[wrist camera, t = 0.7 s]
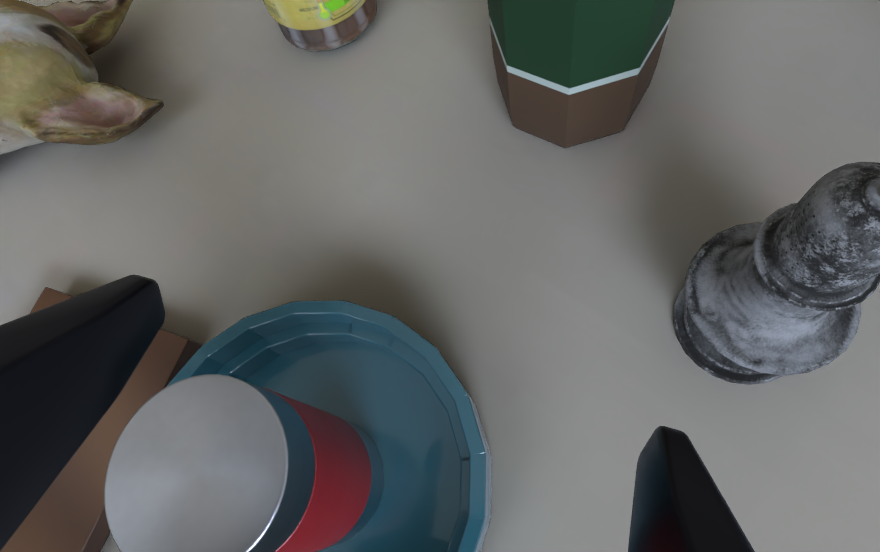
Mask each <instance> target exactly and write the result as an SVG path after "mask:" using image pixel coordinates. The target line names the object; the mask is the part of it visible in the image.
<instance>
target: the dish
mask: <svg viewBox="0 0 880 552" xmlns="http://www.w3.org/2000/svg"><path fill="white" fill-rule="evenodd" d="M205 374H219V375H226V376H231V377H234V378H237V379H240V380H243V381H245V382H248V383H251V384H253V385H256V386H258V387H262V388H265V389H269V390H272V391H274V392H277V393H279V394H282V395H284V396H287V397H290V398H292V399H295V400H297V401H300V402H302V403H305V404H308V405H310V406H313V407H315V408H318V409H320V410H323V411H326V412H328V413H331V414H333V415H335V416H338V417H340V418H342V419H344V420H347V421H349V422H351V423H353V424H355V425H357V426H358V427H360V428H361V429H362V430H363V431H365V432H366V433H367V434H368V436H369V437H370V438H371V439H372V441H373V442H374V444H375V445H376V448H377V450H378V452H379V454H380V457H381V461H382V466H383V476H384V479H383V489H382V495H381V498H380V501H379V504H378V507H377V509H376V511H375V513H374V515H373V516H372V518H371V519H370V521H369V522H368V523H367V525H366V526H365V527H364V528H363V529H362V530H361V531H360V532H359V533H358V534H356V535H355V536H354V537H353V538H351V539H349V540H347V541H346V542H344V543H341V544H339V545H335V546H332V547H328V548H325V549H322V550H319V551H315V552H481V548H482V545H483V542H484V539H485V536H486V532H487V529H488V526H489V523H490V516H491V487H492V459H491V454H490V450H489V447H488V444H487V440H486V437H485V434H484V430H483V427H482V424H481V420H480V417H479V414H478V411H477V407H476V405H475V403H474V401H473V400H472V398H471V397H470V396H469V394H468V393H467V391H466V390H465V388H464V387H463V385H462V384H461V383H460V381H459V380H458V378H457V377H456V375H455V374H454V372H453V371H452V370H451V368H450V367H449V365H448V364H447V362H446V361H445V359H444V358H443V357H442V355H441V354H440V352H439V351H438V349H437V348H436V347H435V346H434V345H432V344H431V343H430V342H428V341H427V340H426V339H424V338H423V337H422V336H420V335H419V334H418V333H416V332H415V331H414V330H412V329H411V328H410V327H408V326H407V325H405V324H404V323H403V322H401V321H400V320H399V319H397V318H396V317H395V316H392V315H390V314H386V313H383V312H380V311H377V310H374V309H371V308H368V307H364V306H361V305H358V304H355V303H352V302H349V301H344V300H339V301H295V302H290V303H287V304H284V305H281V306H278V307H275V308H272V309H269V310H266V311H263V312H260V313H257V314H254V315H251V316H247V317H246V318H243V319H241V320H240V321H238V322H237V323H235V324H234V325H233V326H231V327H230V328H228V329H227V330H225V331H224V332H222V333H221V334H219V335H218V336H216V337H215V338H213V339H212V340H210V341H209V342H207V343H206V344H204V345H203V346H201V348H199V349H198V351H197V352H196V353H195V354H194V355H193V356H192V357H191V359H190V360H189V361H188V362H187V363H186V364H185V365H184V367H183V368H182V369H181V370H180V371H179V372H178V373H177V375H176V376H175V377H174V378H173V379H172V380H171V382H170V383H169V384H168V385H167V386H169V385H171V384H173V383H176V382H178V381H180V380H183V379H186V378H189V377H193V376H198V375H205ZM167 386H166V387H167ZM166 387H165V388H166Z"/></svg>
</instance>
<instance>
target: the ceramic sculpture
mask: <svg viewBox="0 0 880 552" xmlns="http://www.w3.org/2000/svg"><path fill="white" fill-rule="evenodd" d="M132 1H133V0H107V1H104V2H99V1H86V2H81V3H79V4H77V3H74V2H72V1H68V2H56V3H53V4H51V5H49V6H34V5H32V4H29V3H26V2H23V1H18V0H0V154H3V153H7V152H12V151H15V150H18V149H21V148H23V147H26V146H31V145H36V144H41V143H44V142H54V143H69V144H82V145H97V144H106V143H110V142H114V141H116V140H118V139H120V138H122V137H123V136H125V135H127V134H129V133H131V132H132V131H134V130H135V129H137V128H138V127H140V126H141V125H142V124H144V123H145V122H146V121H147V120H148V119H149V118H151V117H152V116H153V115H154V114H155V113H157V112H158V111H159V110H160V109H161V108H162V107H163V105H164V103H163V101H161V100H156V99H148V98H144V97H142V96H140V95H137V94H135V93H132V92H129V91H127V90H125V89H124V88H122V87H119V86H116V85H113V84H110V83H101V82H98V73H97V71H96V68H95V66H94V63H93V61H92V59H91V58H90V56H89V55H90V54H92V53H94V52H96V51H97V50H99V49H101V48H103V47H105V46H106V45H107V44H109V43H110V41H111V40H112V39H113V37H114V36H115V34H116V32H117V31H118V29H119V27H120V26H121V24H122V22H123V20H124V18H125V15H126V13H127V11H128V9H129V7H130V5H131V3H132Z"/></svg>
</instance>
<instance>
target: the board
mask: <svg viewBox="0 0 880 552" xmlns="http://www.w3.org/2000/svg"><path fill="white" fill-rule="evenodd" d="M72 297H73V296H70V295H68V294H65V293H62V292H59V291H57V290H54V289H51V288H49V287H45V289H44V290H43V292H42V294H41V295H40V297H39V299H38V300H37V302H36V304H35V306H34V307H33V309H32V311H31V312H30V314H31V313H34V312H36V311H39V310H41V309H44V308H47V307H49V306H52V305H54V304H57V303H60V302H62V301H65V300H67V299H70V298H72ZM199 348H201V344H199V343H196V342H194V341H192V340H190V339H187V338H185V337H182V336H179V335H176V334H174V333H171V332H168V331H165V330H163V329H160V330H159V331H158V333H157V335H156V336H155V338H154V339H153V341H152V343H151V344H150V346H149V348H148V349H147V351H146V353H145V354H144V356H143V358H142V359H141V361H140V363H139V364H138V366H137V367H136V369H135V371H134V372H133V374H132V376H131V377H130V379H129V381H128V382H127V384H126V385H125V387H124V388H123V390H122V392H121V393H120V395H119V396H118V397H117V399H116V400H115V401H114V403H113V404H112V406H111V407H110V408H109V410H108V411H107V412H106V413H105V415H104V416H103V417H102V419H101V420H100V421H99V423H98V424H97V425H96V427H95V428H94V429H93V431H92V432H91V433H90V434H89V436H88V437H87V438H86V440H85V441H84V442H83V444H82V445H81V446H80V448H79V449H78V450H77V452H76V453H75V454H74V455H73V457H72V458H71V459H70V461H69V462H68V463H67V465H66V466H65V467H64V469H63V470H62V471H61V473H60V474H59V475H58V476H57V478H56V479H55V480H54V482H53V483H52V484H51V486H50V487H49V488H48V490H47V491H46V492H45V494H44V495H43V496H42V497H41V499H40V500H39V501H38V503H37V504H36V505H35V507H34V508H33V509H32V511H31V512H30V513H29V515H28V516H27V517H26V518H25V520H24V521H23V522H22V524H21V525H20V526H19V528H18V529H17V530H16V532H15V533H14V534H13V536H12V537H11V538H10V539H9V541H8V542H7V543H6V545H5V546H4V547H3V549H2V550H1V551H0V552H100V551H101V549H102V547H103V545H104V543H105V541H106V539H107V537H108V534H109V532H110V529H109V526H108V522H107V518H106V513H105V505H104V487H105V477H106V472H107V468H108V463H109V460H110V457H111V454H112V451H113V449H114V446H115V444H116V442H117V440H118V438H119V436H120V434H121V433H122V431H123V429H124V427H125V426H126V424H127V423H128V422H129V420H130V419H131V418H132V416H133V415H134V414H135V413H136V412H137V410H138V409H139V408H140V407H141V406H142V405H143V404H144V403H145V402H146V401H148V400H149V399H150V398H151V397H152V396H154V395H155V394H156V393H158V392H159V391H161V390H162V389H164V388H165V387H166V386H167V385H168V384H169V383H170V382H171V380H172V379H173V378H174V377H175V376H176V375H177V373H178V372H179V371H180V370H181V369H182V368H183V367H184V365H185V364H186V363H187V362H188V361H189V360H190V359H191V357H192V356H193V355H194V354H195V353H196V352H197V351H198V349H199Z"/></svg>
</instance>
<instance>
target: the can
mask: <svg viewBox="0 0 880 552" xmlns="http://www.w3.org/2000/svg"><path fill="white" fill-rule="evenodd" d="M383 479H384V476H383V466H382V461H381V457H380V454H379V452H378V450H377V448H376V445H375V444H374V442H373V441H372V439H371V438H370V437H369V436H368V434H367V433H366V432H365V431H363V430H362V429H361V428H360V427H358V426H357V425H355V424H353V423H351V422H349V421H347V420H344V419H342V418H340V417H338V416H335V415H333V414H331V413H328V412H326V411H323V410H320V409H318V408H315V407H313V406H310V405H308V404H305V403H302V402H300V401H297V400H295V399H292V398H290V397H287V396H284V395H282V394H279V393H277V392H274V391H272V390H269V389H265V388H262V387H258V386H256V385H253V384H251V383H248V382H245V381H243V380H240V379H237V378H234V377H231V376H226V375H219V374H205V375H198V376H193V377H189V378H186V379H183V380H180V381H178V382H176V383H173V384H171V385H169V386H167V387H166V388H164V389H162V390H161V391H159V392H158V393H156V394H155V395H154V396H152V397H151V398H150V399H149V400H148V401H146V402H145V403H144V404H143V405H142V406H141V407H140V408H139V409H138V410H137V412H136V413H135V414H134V415H133V416H132V418H131V419H130V420H129V422H128V423H127V424H126V426H125V427H124V429H123V431H122V433H121V434H120V436H119V438H118V440H117V442H116V444H115V446H114V449H113V451H112V454H111V457H110V460H109V463H108V468H107V472H106V477H105V487H104V505H105V513H106V518H107V522H108V526H109V529H110V531H111V534H112V536H113V539H114V541H115V542H116V544H117V546H118V547H119V549H120V551H121V552H315V551H319V550H322V549H325V548H328V547H332V546H335V545H339V544H341V543H344V542H346V541H347V540H349V539H351V538H353V537H354V536H355V535H356V534H358V533H359V532H360V531H361V530H362V529H363V528H364V527H365V526H366V525H367V523H368V522H369V521H370V519H371V518H372V516H373V515H374V513H375V511H376V509H377V507H378V504H379V501H380V498H381V495H382V489H383Z"/></svg>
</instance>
